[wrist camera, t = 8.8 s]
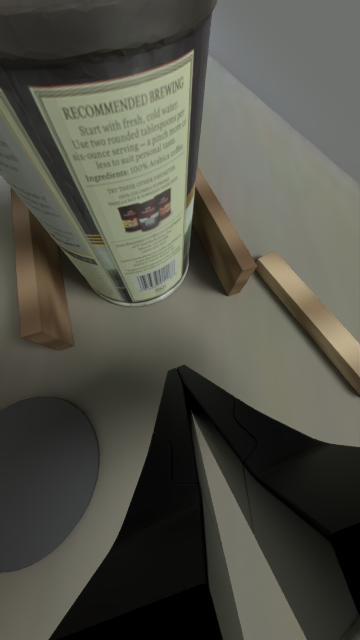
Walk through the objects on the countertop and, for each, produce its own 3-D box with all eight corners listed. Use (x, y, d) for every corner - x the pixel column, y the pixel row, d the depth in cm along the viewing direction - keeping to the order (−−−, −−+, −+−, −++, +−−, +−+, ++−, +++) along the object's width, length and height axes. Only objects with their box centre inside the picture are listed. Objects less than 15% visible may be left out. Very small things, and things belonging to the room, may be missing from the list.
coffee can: (128, 208, 21) (50, -102, 8) (207, 250, 19) (280, -60, 6) (60, 272, 18) (-270, -69, 5) (147, 329, 16) (17, 43, 3)
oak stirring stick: (374, 385, 15) (396, 384, 14) (358, 398, 15) (378, 399, 13) (266, 261, 19) (274, 250, 18) (251, 269, 19) (257, 258, 17)
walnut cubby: (239, 292, 17) (257, 265, 14) (58, 350, 15) (20, 337, 11) (183, 186, 22) (185, 146, 19) (40, 218, 20) (10, 178, 16)
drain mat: (112, 523, 11) (110, 527, 11) (-51, 599, 10) (-59, 607, 10) (86, 379, 14) (84, 379, 14) (-43, 424, 13) (-50, 425, 13)
